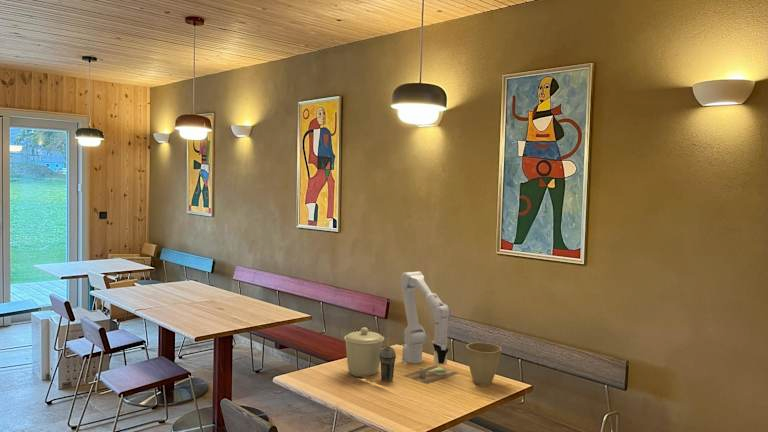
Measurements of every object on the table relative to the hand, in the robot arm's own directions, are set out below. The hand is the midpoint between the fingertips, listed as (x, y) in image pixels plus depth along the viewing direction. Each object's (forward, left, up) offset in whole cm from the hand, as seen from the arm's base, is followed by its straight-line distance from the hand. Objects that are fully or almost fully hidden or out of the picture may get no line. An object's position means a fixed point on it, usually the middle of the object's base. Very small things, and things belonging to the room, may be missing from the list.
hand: (440, 361), depth 253 cm
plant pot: (+20, +5, -6) cm, 21 cm away
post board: (0, -6, -6) cm, 8 cm away
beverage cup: (-8, -26, -6) cm, 28 cm away
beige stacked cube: (0, 0, -1) cm, 1 cm away
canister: (-23, -26, -6) cm, 35 cm away
